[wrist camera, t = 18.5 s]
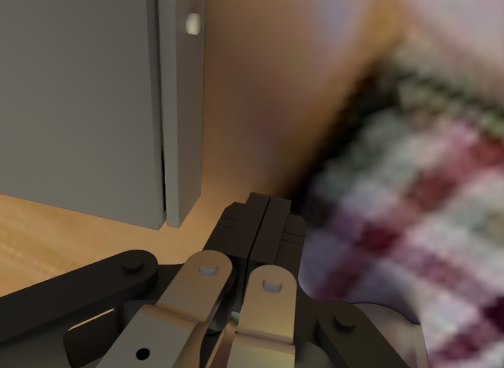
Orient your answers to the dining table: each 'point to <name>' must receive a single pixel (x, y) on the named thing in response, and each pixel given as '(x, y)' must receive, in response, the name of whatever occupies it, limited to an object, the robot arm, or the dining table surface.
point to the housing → (82, 107)
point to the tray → (180, 101)
